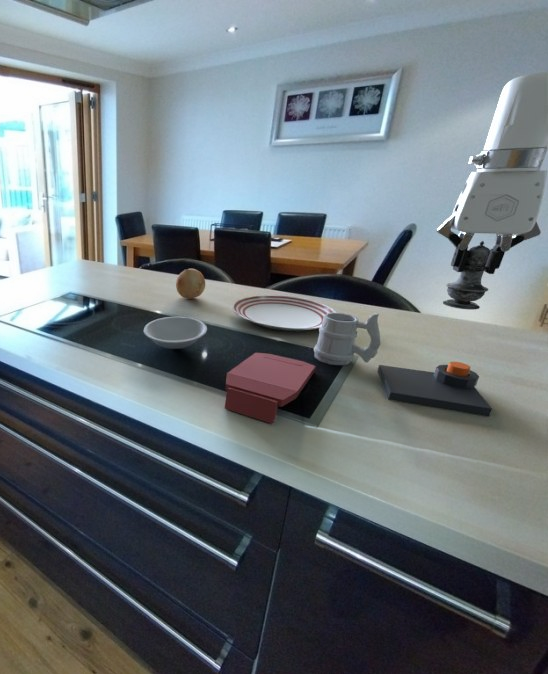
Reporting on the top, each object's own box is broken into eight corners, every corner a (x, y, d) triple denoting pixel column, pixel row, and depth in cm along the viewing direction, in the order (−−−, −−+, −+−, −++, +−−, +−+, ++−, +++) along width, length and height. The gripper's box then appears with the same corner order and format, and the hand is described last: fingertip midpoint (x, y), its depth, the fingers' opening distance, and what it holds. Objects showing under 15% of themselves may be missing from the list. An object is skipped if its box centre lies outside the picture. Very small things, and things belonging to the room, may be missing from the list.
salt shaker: (445, 298, 78) (465, 237, 73) (484, 305, 73) (508, 240, 69) (436, 305, 74) (457, 241, 70) (478, 312, 70) (502, 244, 65)
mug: (318, 348, 92) (328, 300, 87) (377, 362, 84) (392, 310, 80) (307, 359, 87) (317, 308, 82) (370, 375, 79) (384, 320, 75)
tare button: (464, 371, 73) (467, 363, 73) (470, 378, 71) (473, 369, 70) (444, 368, 74) (446, 360, 74) (449, 375, 72) (452, 367, 71)
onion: (193, 304, 126) (195, 273, 122) (169, 298, 133) (170, 269, 129) (210, 298, 132) (212, 268, 128) (186, 292, 139) (188, 264, 135)
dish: (189, 368, 85) (190, 347, 83) (131, 354, 92) (131, 334, 90) (214, 340, 98) (216, 322, 96) (162, 330, 106) (163, 313, 104)
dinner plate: (350, 341, 95) (353, 329, 94) (233, 333, 102) (234, 321, 101) (322, 307, 119) (324, 296, 118) (229, 302, 126) (230, 292, 125)
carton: (253, 371, 90) (213, 404, 70) (257, 351, 88) (217, 379, 69) (311, 386, 83) (285, 427, 63) (316, 364, 82) (291, 400, 62)
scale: (465, 384, 75) (471, 367, 74) (492, 418, 65) (500, 399, 63) (376, 370, 81) (380, 355, 80) (388, 400, 71) (393, 383, 69)
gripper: (452, 163, 65) (421, 272, 72) (595, 159, 58) (545, 280, 65) (440, 164, 71) (411, 264, 78) (567, 160, 64) (524, 270, 71)
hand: (472, 270), depth 71 cm, fingers closed on salt shaker, 3 cm apart
